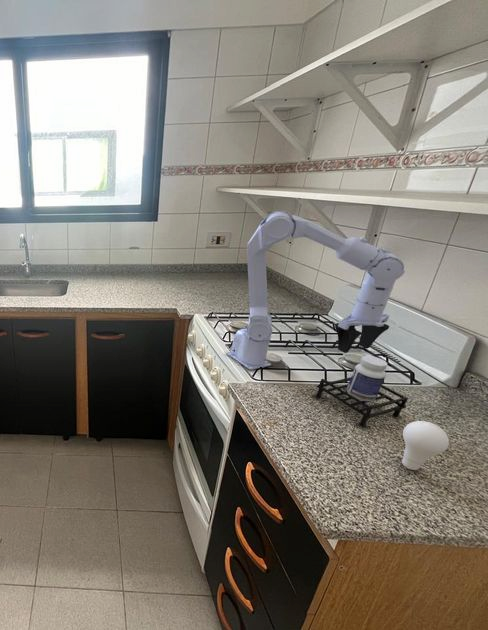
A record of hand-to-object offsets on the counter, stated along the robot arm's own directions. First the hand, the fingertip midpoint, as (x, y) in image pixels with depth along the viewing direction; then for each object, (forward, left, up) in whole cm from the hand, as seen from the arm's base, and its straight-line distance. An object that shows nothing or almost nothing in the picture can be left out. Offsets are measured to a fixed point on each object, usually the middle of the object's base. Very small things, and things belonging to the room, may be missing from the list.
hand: (353, 348), depth 92 cm
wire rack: (+9, -7, -10) cm, 15 cm away
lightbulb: (+26, -16, -11) cm, 32 cm away
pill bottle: (+9, -7, -7) cm, 13 cm away
